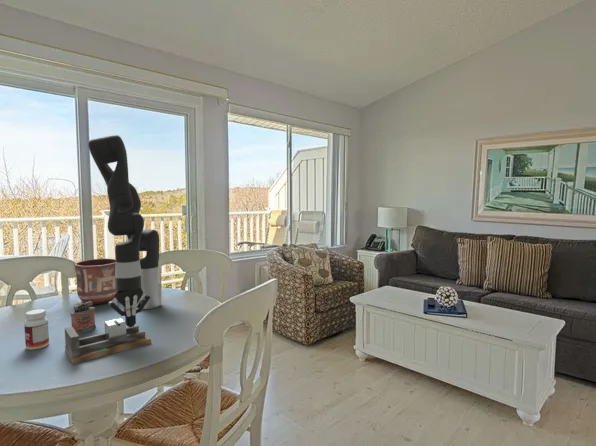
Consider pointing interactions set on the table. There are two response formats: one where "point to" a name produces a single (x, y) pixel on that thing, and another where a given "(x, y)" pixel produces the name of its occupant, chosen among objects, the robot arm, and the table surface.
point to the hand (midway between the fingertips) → (130, 326)
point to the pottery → (96, 280)
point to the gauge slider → (115, 328)
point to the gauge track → (101, 344)
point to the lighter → (83, 317)
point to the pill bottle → (36, 329)
